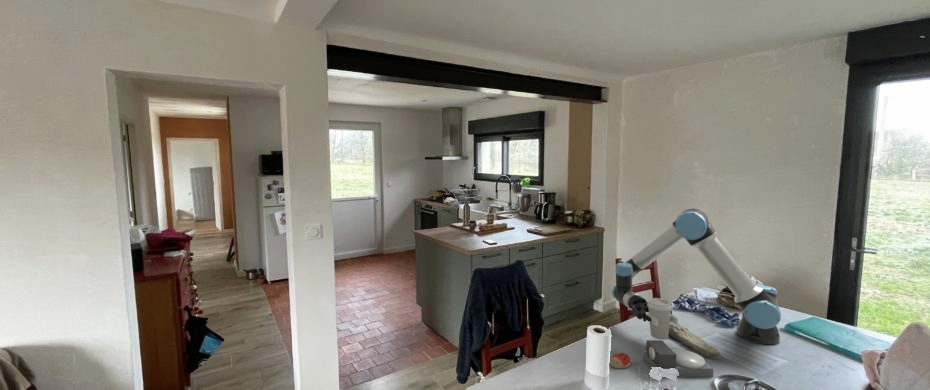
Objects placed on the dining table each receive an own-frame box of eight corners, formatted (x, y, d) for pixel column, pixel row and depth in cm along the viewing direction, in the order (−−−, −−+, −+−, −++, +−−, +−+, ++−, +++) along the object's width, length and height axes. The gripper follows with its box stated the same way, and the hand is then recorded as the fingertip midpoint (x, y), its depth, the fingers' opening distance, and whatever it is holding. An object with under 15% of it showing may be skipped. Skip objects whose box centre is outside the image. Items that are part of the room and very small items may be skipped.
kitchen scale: (694, 359, 150) (695, 339, 150) (713, 376, 138) (714, 355, 138) (642, 359, 151) (643, 339, 150) (656, 376, 139) (657, 355, 138)
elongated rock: (705, 364, 149) (727, 363, 151) (707, 352, 148) (729, 350, 150) (647, 323, 183) (666, 322, 185) (649, 312, 183) (667, 312, 184)
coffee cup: (675, 342, 155) (676, 306, 153) (650, 340, 157) (650, 305, 155) (668, 331, 164) (668, 297, 163) (644, 330, 166) (644, 297, 165)
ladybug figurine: (605, 365, 147) (605, 356, 147) (618, 356, 154) (618, 348, 154) (622, 372, 142) (622, 363, 142) (635, 363, 149) (635, 354, 148)
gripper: (655, 308, 179) (690, 329, 157) (614, 312, 176) (643, 333, 154) (656, 293, 178) (690, 311, 156) (614, 296, 176) (643, 315, 153)
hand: (667, 322), depth 155 cm, fingers closed on coffee cup, 8 cm apart
